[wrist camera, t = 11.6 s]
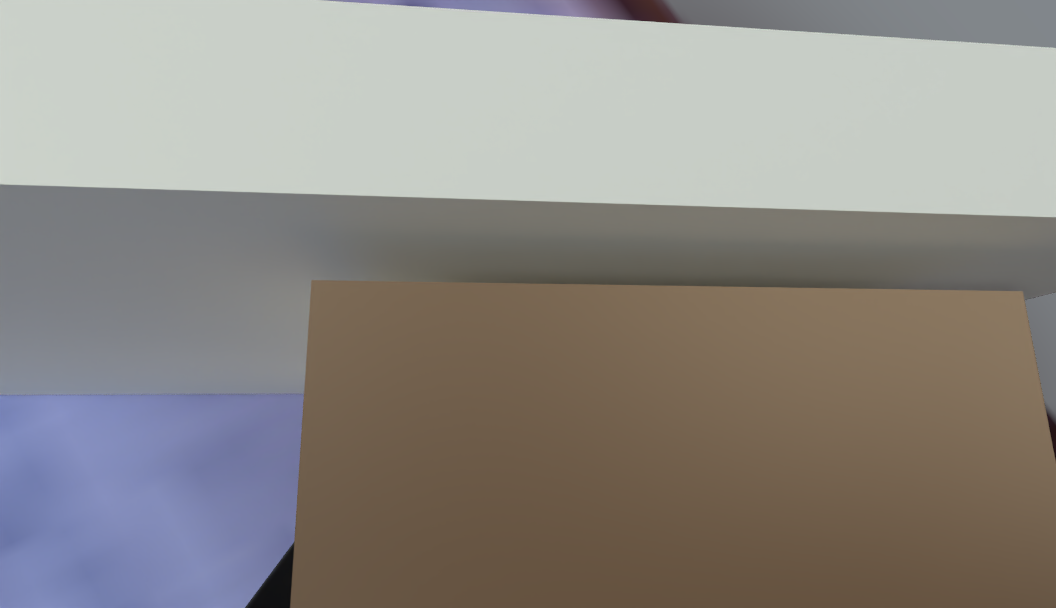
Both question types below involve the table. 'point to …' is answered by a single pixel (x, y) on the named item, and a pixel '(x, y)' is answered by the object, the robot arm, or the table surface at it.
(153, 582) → the table surface
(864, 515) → the beige upright block
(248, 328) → the board
